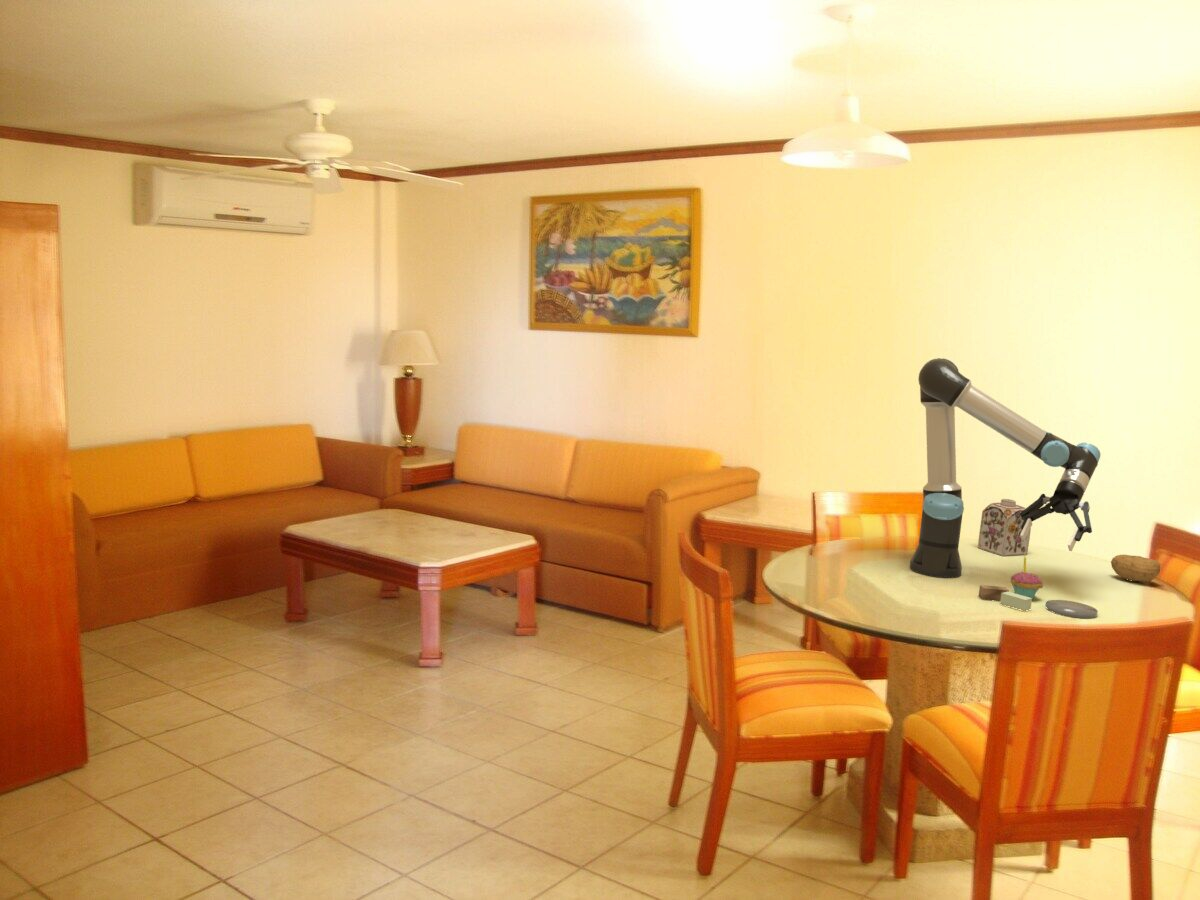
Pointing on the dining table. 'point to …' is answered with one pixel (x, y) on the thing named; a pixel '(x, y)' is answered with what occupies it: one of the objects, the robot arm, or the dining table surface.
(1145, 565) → the potato
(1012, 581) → the cupcake
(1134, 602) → the dining table surface
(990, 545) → the decorative jar
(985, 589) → the walnut brick
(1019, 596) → the sage brick
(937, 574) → the robot arm
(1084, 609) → the plate
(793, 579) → the dining table surface
